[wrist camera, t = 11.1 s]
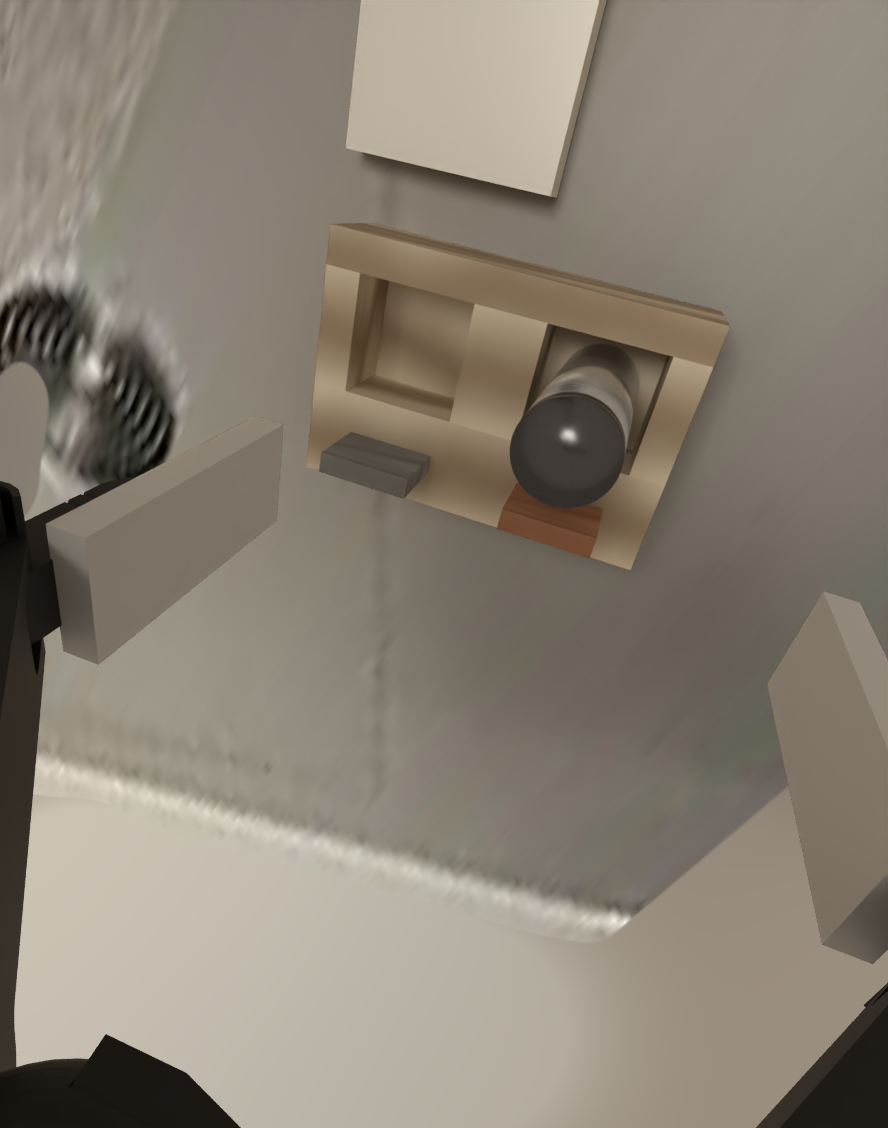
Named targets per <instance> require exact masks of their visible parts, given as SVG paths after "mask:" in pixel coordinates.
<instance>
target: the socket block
mask: <svg viewBox="0 0 888 1128" xmlns="http://www.w3.org/2000/svg"><path fill="white" fill-rule="evenodd" d="M729 328H730V325H729V324H728V322H727V320H726V319H725V317H724V315H723V314H722V312H720V311H716V310H712V309H708V308H705V307H701V306H697V305H693V304H689V303H685V302H681V301H677V300H673V299H669V298H665V297H661V296H657V295H653V294H649V293H645V292H641V291H638V290H634V289H630V288H626V287H622V286H618V285H614V284H610V283H606V282H602V281H598V280H594V279H590V278H586V277H582V276H578V275H574V274H571V273H567V272H563V271H559V270H555V269H551V268H547V267H543V266H539V265H535V264H531V263H527V262H523V261H519V260H515V259H511V258H507V257H503V256H500V255H496V254H492V253H488V252H484V251H480V250H476V249H472V248H468V247H464V246H460V245H456V244H452V243H448V242H444V241H440V240H436V239H433V238H429V237H425V236H421V235H417V234H413V233H409V232H405V231H401V230H397V229H393V228H389V227H385V226H381V225H377V224H373V223H355V224H330V233H329V243H328V253H327V263H326V273H325V283H324V294H323V304H322V314H321V324H320V334H319V344H318V354H317V364H316V374H315V384H314V394H313V404H312V414H311V424H310V434H309V444H308V454H307V464H306V467H309V468H312V469H315V470H319V472H322V473H326V474H329V475H332V476H335V477H338V478H341V479H344V480H347V481H351V482H354V483H357V484H360V485H363V486H366V487H369V488H372V489H376V490H379V491H382V492H385V493H388V494H391V495H394V496H397V497H401V498H406V499H409V500H412V501H415V502H419V503H422V504H425V505H428V506H431V507H434V508H437V509H440V510H444V511H447V512H450V513H453V514H456V515H459V516H462V517H465V518H468V519H472V520H475V521H478V522H481V523H484V524H487V525H490V526H493V527H497V529H500V530H504V531H507V532H510V533H513V534H516V535H519V536H522V537H525V538H528V539H532V540H535V541H538V542H541V543H544V544H547V545H550V546H553V547H557V548H560V549H563V550H566V551H569V552H572V553H575V554H578V555H582V556H585V557H588V558H593V559H597V560H600V561H603V562H606V563H609V564H612V565H615V566H618V567H622V568H625V569H628V570H631V568H632V565H633V563H634V560H635V558H636V556H637V553H638V551H639V548H640V546H641V543H642V541H643V538H644V536H645V534H646V531H647V529H648V526H649V524H650V521H651V519H652V516H653V514H654V512H655V509H656V507H657V504H658V502H659V499H660V497H661V494H662V492H663V490H664V487H665V485H666V482H667V480H668V477H669V475H670V472H671V470H672V468H673V465H674V463H675V460H676V458H677V455H678V453H679V450H680V448H681V446H682V443H683V441H684V438H685V436H686V433H687V431H688V428H689V426H690V424H691V421H692V419H693V416H694V414H695V411H696V409H697V406H698V404H699V402H700V399H701V397H702V394H703V392H704V389H705V387H706V384H707V382H708V380H709V377H710V375H711V372H712V370H713V367H714V365H715V362H716V360H717V358H718V355H719V353H720V350H721V348H722V345H723V343H724V340H725V338H726V335H727V333H728V331H729ZM593 344H608V345H612V346H615V347H618V348H619V349H621V350H623V351H624V352H626V353H627V354H628V355H629V356H630V358H631V359H632V360H633V362H634V363H635V365H636V368H637V370H638V374H639V390H638V395H637V400H636V405H635V409H634V414H633V419H632V424H631V429H630V433H629V438H628V443H627V448H626V452H625V457H624V462H623V466H622V470H621V473H620V475H619V477H618V479H617V481H616V482H615V484H614V486H613V487H612V488H611V489H610V490H609V491H608V492H607V493H606V494H605V495H604V496H603V497H601V498H600V499H598V500H597V501H595V502H593V503H591V504H588V505H585V506H581V507H577V508H558V507H553V506H549V505H547V504H544V503H542V502H540V501H538V500H536V499H535V498H533V497H532V496H531V495H529V494H528V493H527V492H526V491H525V490H524V489H523V488H522V486H521V485H520V484H519V482H518V481H517V479H516V477H515V475H514V473H513V470H512V467H511V462H510V443H511V438H512V435H513V433H514V430H515V428H516V426H517V425H518V423H519V422H520V420H521V419H522V418H523V416H524V415H525V414H526V413H527V411H528V410H529V409H530V407H531V406H532V405H533V404H534V402H535V401H536V400H537V398H538V397H539V396H540V395H541V393H542V392H543V391H544V390H545V388H546V387H547V386H548V384H549V383H550V382H551V381H552V379H553V378H554V377H555V375H556V374H557V373H558V372H559V370H560V369H561V368H562V367H563V365H564V364H565V363H566V361H567V360H568V359H569V358H570V357H571V356H572V355H573V354H574V353H575V352H577V351H578V350H580V349H582V348H584V347H586V346H589V345H593Z"/></svg>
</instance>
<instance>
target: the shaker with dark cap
mask: <svg viewBox="0 0 888 1128" xmlns="http://www.w3.org/2000/svg"><path fill="white" fill-rule="evenodd" d="M638 390H639V374H638V370H637V368H636V365H635V363H634V362H633V360H632V359H631V358H630V356H629V355H628V354H627V353H626V352H624V351H623V350H621V349H619V348H618V347H615V346H612V345H608V344H593V345H589V346H586V347H584V348H582V349H580V350H578V351H577V352H575V353H574V354H573V355H572V356H571V357H570V358H569V359H568V360H567V361H566V363H565V364H564V365H563V367H562V368H561V369H560V370H559V372H558V373H557V374H556V375H555V377H554V378H553V379H552V381H551V382H550V383H549V384H548V386H547V387H546V388H545V390H544V391H543V392H542V393H541V395H540V396H539V397H538V398H537V400H536V401H535V402H534V404H533V405H532V406H531V407H530V409H529V410H528V411H527V413H526V414H525V415H524V416H523V418H522V419H521V420H520V422H519V423H518V425H517V426H516V428H515V430H514V433H513V435H512V438H511V443H510V462H511V467H512V470H513V473H514V475H515V477H516V479H517V481H518V482H519V484H520V485H521V486H522V488H523V489H524V490H525V491H526V492H527V493H528V494H529V495H531V496H532V497H533V498H535V499H536V500H538V501H540V502H542V503H544V504H547V505H549V506H553V507H558V508H577V507H581V506H585V505H588V504H591V503H593V502H595V501H597V500H598V499H600V498H601V497H603V496H604V495H605V494H606V493H607V492H608V491H609V490H610V489H611V488H612V487H613V486H614V484H615V482H616V481H617V479H618V477H619V475H620V473H621V470H622V466H623V462H624V457H625V452H626V448H627V443H628V438H629V433H630V429H631V424H632V419H633V414H634V409H635V405H636V400H637V395H638Z"/></svg>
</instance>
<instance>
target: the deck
mask: <svg viewBox="0 0 888 1128" xmlns="http://www.w3.org/2000/svg"><path fill="white" fill-rule="evenodd" d="M606 2H607V0H361V7H360V16H359V26H358V35H357V45H356V54H355V64H354V73H353V83H352V93H351V102H350V112H349V121H348V131H347V140H346V148H347V149H351V150H356V151H360V152H364V153H368V154H372V155H377V156H381V157H385V158H389V159H394V160H398V161H402V162H406V163H411V164H415V165H419V166H423V167H427V168H432V169H436V170H440V171H444V172H449V173H453V174H457V175H461V176H466V177H470V178H474V179H478V180H482V181H487V182H491V183H495V184H499V185H504V186H508V187H512V188H516V189H521V190H525V191H529V192H533V193H537V194H542V195H546V196H550V197H555V198H557V195H558V191H559V187H560V183H561V179H562V175H563V171H564V167H565V163H566V159H567V155H568V152H569V148H570V144H571V140H572V136H573V132H574V128H575V124H576V120H577V116H578V112H579V108H580V104H581V100H582V96H583V92H584V88H585V84H586V80H587V77H588V73H589V69H590V65H591V61H592V57H593V53H594V49H595V45H596V41H597V37H598V33H599V29H600V25H601V21H602V17H603V13H604V9H605V6H606Z"/></svg>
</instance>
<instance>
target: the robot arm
mask: <svg viewBox="0 0 888 1128" xmlns="http://www.w3.org/2000/svg"><path fill="white" fill-rule="evenodd" d="M282 438H283V424H280V423H276V422H273V421H270V420H267V419H263V418H260V417H257V416H255V417H253V418H251V419H249V420H247V421H245V422H244V423H242V424H240V425H238V426H236V427H234V428H232V429H230V430H228V431H226V432H224V433H222V434H220V435H218V436H216V437H214V438H212V439H210V440H208V441H206V442H205V443H203V444H201V445H199V446H197V447H195V448H193V449H191V450H189V451H187V452H185V453H183V454H181V455H179V456H177V457H175V458H173V459H171V460H169V461H167V462H166V463H164V464H162V465H160V466H158V467H156V468H154V469H152V470H150V471H148V472H146V473H144V474H142V475H140V476H138V477H136V478H134V479H133V478H130V477H128V478H123V479H119V480H114V481H110V482H105V483H102V484H100V485H98V486H96V487H94V488H92V489H90V490H88V491H86V492H84V495H81V494H80V495H78V496H76V497H74V498H72V499H70V500H68V503H65V502H64V503H62V504H60V505H58V506H56V507H54V508H52V509H50V510H48V511H46V512H43V513H41V514H39V515H37V516H35V517H33V518H31V519H29V520H27V521H25V520H24V514H23V508H22V501H21V496H20V493H19V490H18V489H17V488H16V487H14V486H13V485H11V484H9V483H5V482H1V481H0V1128H240V1127H239V1126H238V1125H237V1124H236V1123H235V1122H234V1121H233V1120H232V1119H231V1117H230V1116H228V1114H227V1113H226V1112H224V1110H223V1109H222V1108H220V1106H219V1105H218V1104H217V1103H216V1102H215V1101H214V1100H213V1099H212V1098H211V1097H210V1096H209V1095H208V1094H207V1093H206V1092H205V1091H204V1090H203V1089H202V1088H201V1087H200V1086H199V1085H198V1084H197V1083H196V1082H195V1081H194V1080H193V1079H192V1078H191V1077H190V1076H189V1075H188V1074H187V1073H185V1072H183V1071H181V1070H179V1069H177V1068H175V1067H173V1066H171V1065H169V1064H166V1063H164V1062H162V1061H160V1060H158V1059H156V1058H154V1057H152V1056H150V1055H148V1054H146V1053H144V1052H142V1051H140V1050H138V1049H135V1048H133V1047H131V1046H129V1045H127V1044H125V1043H123V1042H121V1041H119V1040H117V1039H115V1038H113V1037H111V1036H108V1035H107V1034H106V1035H105V1036H104V1038H103V1039H102V1041H101V1042H100V1044H99V1045H98V1047H97V1048H96V1049H95V1051H94V1052H93V1054H92V1056H91V1057H90V1058H89V1059H55V1060H48V1061H43V1062H37V1063H31V1064H26V1065H23V1066H20V1067H16V1044H15V1031H14V1004H15V991H16V979H17V968H18V957H19V946H20V934H21V923H22V911H23V901H24V889H25V878H26V867H27V855H28V844H29V833H30V821H31V809H32V799H33V787H34V776H35V765H36V754H37V742H38V731H39V720H40V708H41V697H42V686H43V674H44V663H45V646H44V640H43V638H44V637H45V636H46V635H48V634H49V633H51V632H52V631H54V630H55V629H57V628H58V627H59V626H60V631H61V638H62V645H63V651H64V652H67V653H70V654H72V655H75V656H77V657H80V658H83V659H85V660H88V661H90V662H93V663H96V664H98V665H99V664H100V663H101V662H102V661H104V660H105V659H106V658H107V657H109V656H110V655H111V654H112V653H114V652H115V651H116V650H117V649H119V648H120V647H121V646H122V645H124V644H125V643H126V642H127V641H128V640H130V639H131V638H132V637H133V636H135V635H136V634H137V633H138V632H140V631H141V630H142V629H143V628H145V627H146V626H147V625H148V624H149V623H151V622H152V621H153V620H154V619H156V618H157V617H158V616H159V615H161V614H162V613H163V612H164V611H166V610H167V609H168V608H169V607H171V606H172V605H173V604H174V603H175V602H177V601H178V600H179V599H180V598H182V597H183V596H184V595H185V594H187V593H188V592H189V591H190V590H192V589H193V588H194V587H195V586H196V585H198V584H199V583H200V582H201V581H203V580H204V579H205V578H206V577H208V576H209V575H210V574H211V573H213V572H214V571H215V570H216V569H218V568H219V567H220V566H221V565H222V564H224V563H225V562H226V561H227V560H229V559H230V558H231V557H232V556H234V555H235V554H236V553H237V552H239V551H240V550H241V549H242V548H243V547H245V546H246V545H247V544H248V543H250V542H251V541H252V540H253V539H255V538H256V537H257V536H258V535H260V534H261V533H262V532H263V531H265V530H266V529H267V528H268V527H269V526H271V525H272V524H273V523H274V522H276V521H277V509H278V495H279V481H280V466H281V452H282ZM767 686H768V691H769V695H770V700H771V705H772V710H773V714H774V719H775V724H776V729H777V733H778V738H779V743H780V748H781V752H782V757H783V762H784V767H785V771H786V776H787V781H788V785H789V790H790V795H791V800H792V804H793V809H794V814H795V819H796V823H797V828H798V833H799V838H800V842H801V847H802V852H803V857H804V861H805V866H806V870H807V876H808V880H809V885H810V890H811V894H812V899H813V903H814V909H815V913H816V918H817V923H818V927H819V932H820V937H821V942H822V945H825V946H828V947H830V948H833V949H835V950H838V951H841V952H843V953H845V954H848V955H851V956H853V957H856V958H858V959H861V960H864V961H866V962H869V963H871V964H873V963H874V962H875V961H876V960H878V959H879V958H880V957H881V956H882V955H883V954H884V953H885V952H886V951H887V950H888V660H887V658H886V656H885V654H884V652H883V650H882V648H881V646H880V644H879V642H878V640H877V638H876V636H875V633H874V631H873V629H872V627H871V625H870V623H869V621H868V619H867V617H866V615H865V613H864V611H863V609H862V607H861V605H860V603H859V602H856V601H853V600H849V599H846V598H843V597H840V596H836V595H833V594H830V593H827V592H823V593H822V595H821V596H820V598H819V600H818V601H817V603H816V605H815V606H814V608H813V610H812V611H811V613H810V614H809V616H808V618H807V619H806V621H805V623H804V624H803V626H802V628H801V629H800V631H799V633H798V634H797V636H796V638H795V639H794V641H793V642H792V644H791V646H790V647H789V649H788V651H787V652H786V654H785V656H784V657H783V659H782V661H781V662H780V664H779V666H778V667H777V669H776V670H775V672H774V674H773V675H772V677H771V679H770V680H769V682H768V684H767ZM864 1006H865V1007H866V1008H865V1009H864V1010H863V1011H862V1012H861V1013H860V1014H859V1016H858V1017H857V1018H856V1019H855V1020H854V1021H853V1022H852V1023H851V1024H850V1025H849V1026H848V1028H847V1029H846V1030H845V1031H844V1032H843V1033H842V1034H841V1035H840V1036H839V1038H838V1039H837V1040H836V1041H835V1042H834V1043H833V1044H832V1045H831V1046H830V1047H829V1048H828V1049H827V1051H826V1052H825V1053H824V1054H823V1055H822V1056H821V1057H820V1058H819V1059H818V1061H816V1063H815V1064H814V1065H813V1066H812V1067H811V1068H810V1069H809V1070H808V1071H807V1072H806V1073H805V1075H804V1076H803V1077H802V1078H801V1079H800V1080H799V1081H798V1082H797V1083H796V1085H795V1086H794V1087H793V1088H792V1089H791V1090H790V1091H789V1092H788V1093H787V1094H786V1096H784V1098H783V1099H782V1100H781V1101H780V1102H779V1103H778V1104H777V1105H776V1106H775V1107H774V1109H773V1110H772V1111H771V1112H770V1113H769V1114H768V1115H767V1116H766V1117H765V1118H764V1119H763V1121H762V1122H761V1123H760V1124H759V1125H758V1126H757V1127H756V1128H888V983H887V984H886V985H885V986H884V987H883V988H882V989H881V990H880V991H879V992H878V993H877V994H875V995H874V996H873V997H872V998H871V999H870V1000H869V1001H868V1002H867V1003H866V1004H864Z"/></svg>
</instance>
